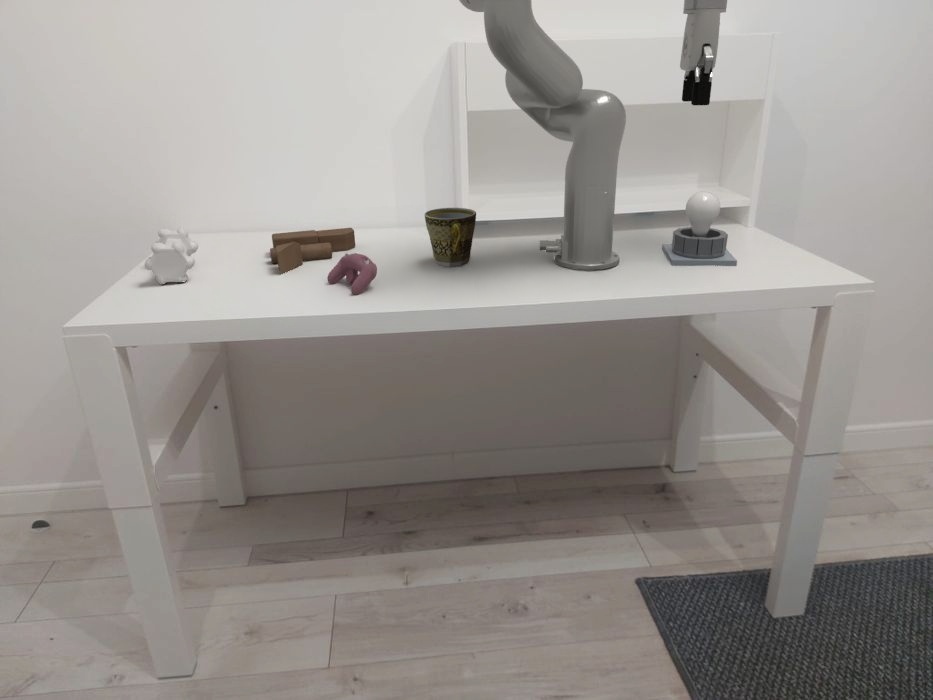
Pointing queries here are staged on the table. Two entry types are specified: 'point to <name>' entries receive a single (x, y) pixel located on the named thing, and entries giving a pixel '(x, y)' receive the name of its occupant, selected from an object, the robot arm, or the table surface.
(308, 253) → the wooden block set
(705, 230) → the lightbulb
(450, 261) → the ceramic cup
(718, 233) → the socket
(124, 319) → the table surface
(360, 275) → the video game controller
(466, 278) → the table surface
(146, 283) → the table surface
